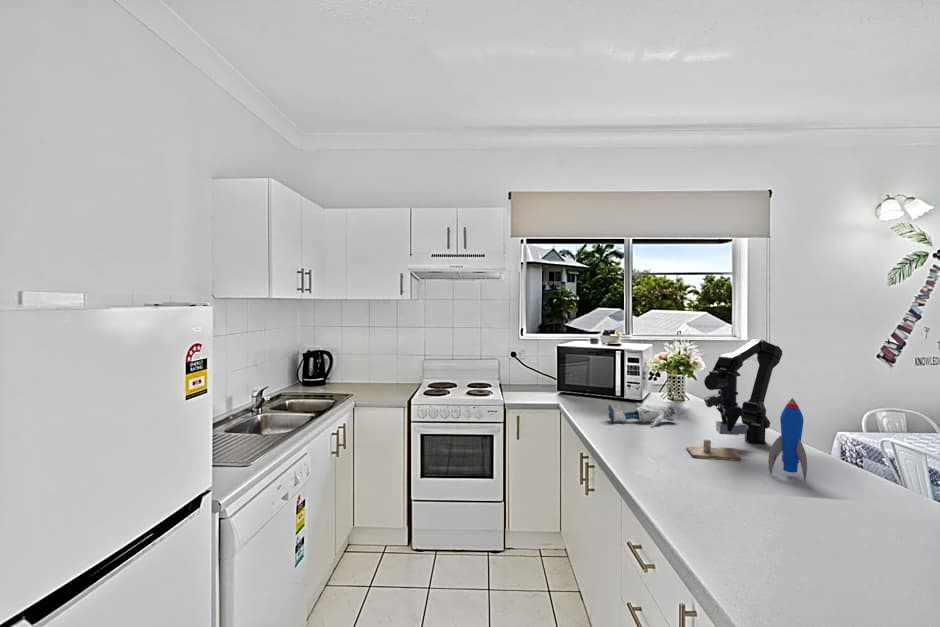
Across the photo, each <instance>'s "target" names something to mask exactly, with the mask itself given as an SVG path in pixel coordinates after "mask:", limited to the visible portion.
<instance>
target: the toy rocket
mask: <svg viewBox="0 0 940 627" xmlns="http://www.w3.org/2000/svg"><path fill="white" fill-rule="evenodd" d="M803 427H804V416H803V412H802V411H801V409H800V406H799V405H798V404H797V402H796V401H795V399H794V398H793V397H792V398H791V399H790V400H789V401H788V402H787V404H786V405H785V406H784V408H783V410H782V411H781V415H780V431H781V432H780V434H781V435H779V436H778V438H776V439H775V441H774V442H773V443H772V446H771V447H770V449H769V453H768V461H767V462H768V463H767V464H768V469H769V470H768V471H769V475H772V474H773V473H772V472H773V469H774V465H775V463H776V461H777V458H778V456H779V455H780V454H781V453H782V454H781V460H782V466H783V467H782V468H783V469H782V470H783V471H784V472H786V473H798V468H799V464H800V466H801V469H802V470H801V471H802V476H803V481H804V482H806V478H807V475H808V474H807V472H808V460H807V459H808V458H807V453H806V450H805V447H804V445H803V443H802V436H803Z"/></svg>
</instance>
